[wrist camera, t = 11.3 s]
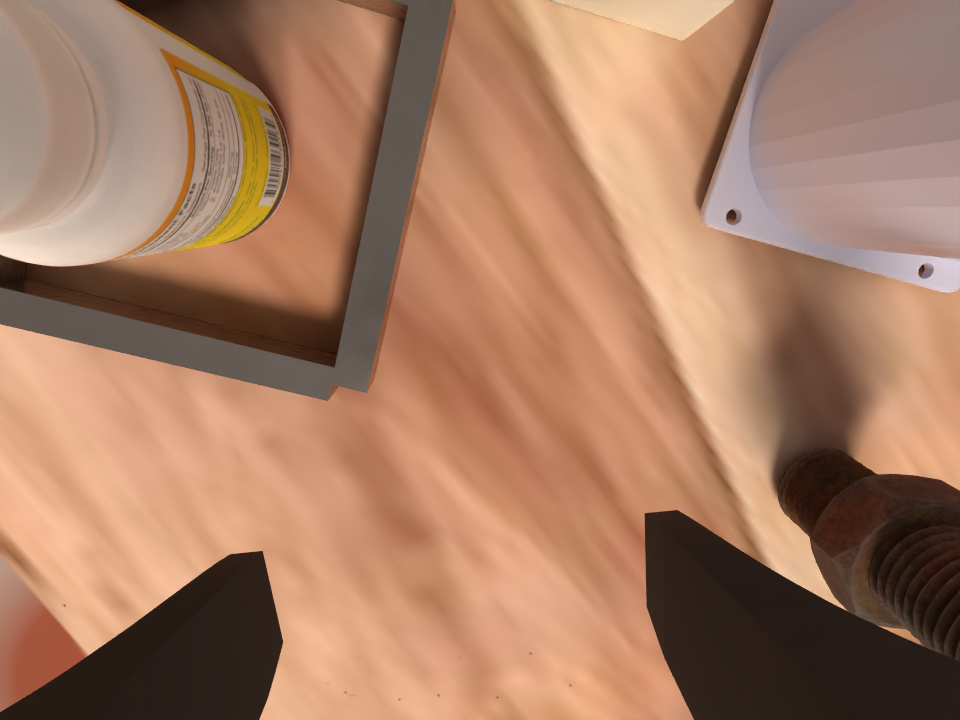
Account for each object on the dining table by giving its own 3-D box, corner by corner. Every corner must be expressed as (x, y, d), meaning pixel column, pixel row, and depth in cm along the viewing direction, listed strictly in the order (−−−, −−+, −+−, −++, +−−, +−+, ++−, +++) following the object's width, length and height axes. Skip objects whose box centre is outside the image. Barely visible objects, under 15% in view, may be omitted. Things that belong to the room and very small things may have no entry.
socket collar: (460, -9, 17) (459, -29, 16) (370, 395, 20) (363, 409, 19) (4, -148, 16) (-42, -183, 15) (-14, 304, 19) (-53, 311, 18)
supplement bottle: (85, 128, 18) (-383, 29, 8) (222, 25, 17) (-104, -222, 7) (199, 276, 19) (-83, 347, 9) (331, 185, 19) (177, 156, 9)
